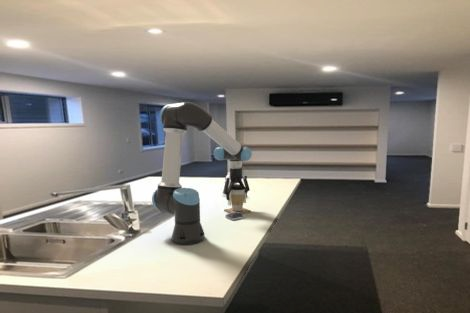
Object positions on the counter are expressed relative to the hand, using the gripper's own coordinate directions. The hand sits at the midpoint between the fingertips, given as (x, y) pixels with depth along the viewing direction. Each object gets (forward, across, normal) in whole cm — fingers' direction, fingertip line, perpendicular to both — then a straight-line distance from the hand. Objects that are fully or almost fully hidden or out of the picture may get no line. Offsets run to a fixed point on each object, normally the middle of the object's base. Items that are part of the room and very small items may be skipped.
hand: (237, 203), depth 195 cm
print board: (+5, 0, 0) cm, 5 cm away
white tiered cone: (+5, +18, +42) cm, 46 cm away
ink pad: (+5, -8, -11) cm, 14 cm away
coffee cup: (+4, 0, 0) cm, 4 cm away
